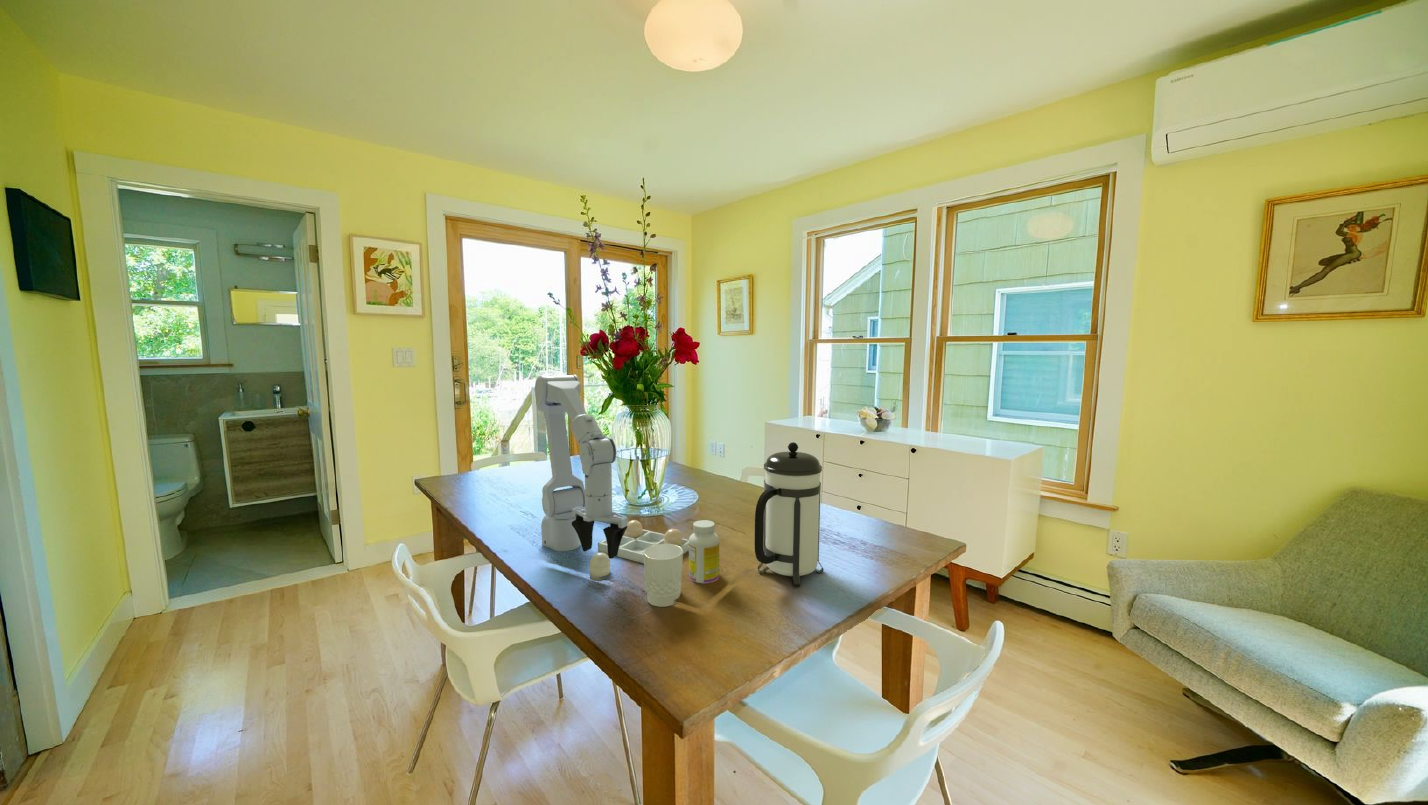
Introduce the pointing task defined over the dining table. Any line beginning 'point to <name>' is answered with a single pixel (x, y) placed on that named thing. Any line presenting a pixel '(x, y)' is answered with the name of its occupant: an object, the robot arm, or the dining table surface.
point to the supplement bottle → (704, 553)
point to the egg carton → (639, 545)
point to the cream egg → (599, 566)
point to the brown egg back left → (634, 529)
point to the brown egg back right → (673, 537)
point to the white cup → (663, 574)
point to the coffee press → (789, 515)
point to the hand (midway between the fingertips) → (599, 553)
